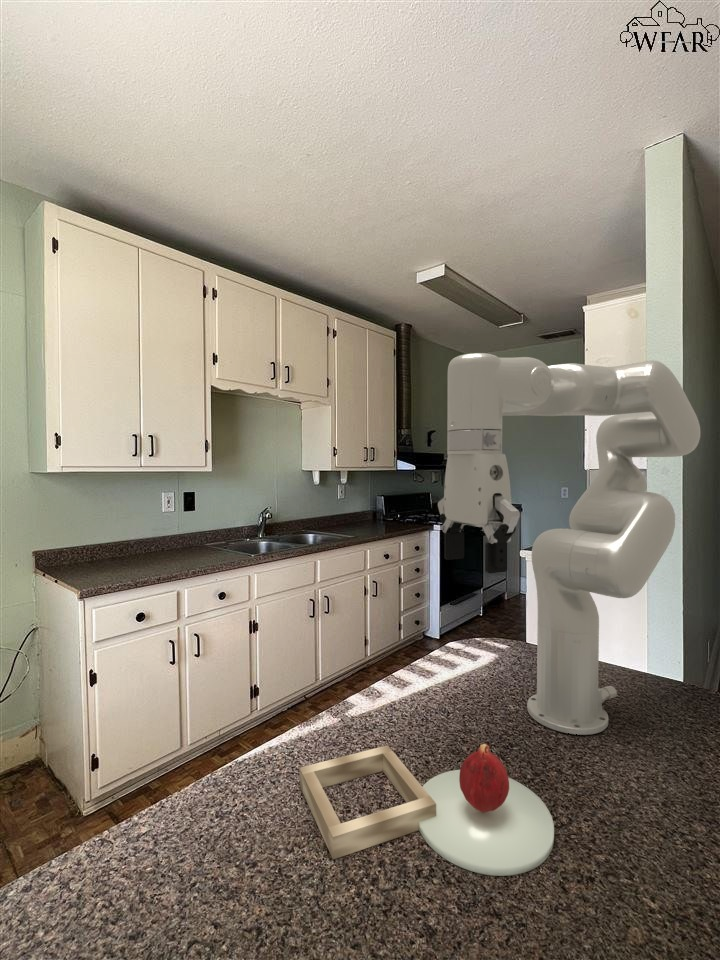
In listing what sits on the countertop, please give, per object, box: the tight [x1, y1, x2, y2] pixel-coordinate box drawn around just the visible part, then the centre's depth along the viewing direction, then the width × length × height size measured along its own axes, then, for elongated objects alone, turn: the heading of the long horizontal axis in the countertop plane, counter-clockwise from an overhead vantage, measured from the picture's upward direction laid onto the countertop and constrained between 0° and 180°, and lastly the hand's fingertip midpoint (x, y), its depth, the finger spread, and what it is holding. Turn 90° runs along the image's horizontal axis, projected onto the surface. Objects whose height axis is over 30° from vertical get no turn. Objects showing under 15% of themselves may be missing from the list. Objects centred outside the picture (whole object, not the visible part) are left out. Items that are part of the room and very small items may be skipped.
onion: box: [459, 743, 509, 812], centre depth 58 cm, size 6×6×8 cm
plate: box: [418, 769, 555, 877], centre depth 58 cm, size 16×16×1 cm
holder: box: [299, 744, 436, 860], centre depth 61 cm, size 13×13×2 cm
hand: (473, 565), depth 69 cm, fingers open, 9 cm apart
